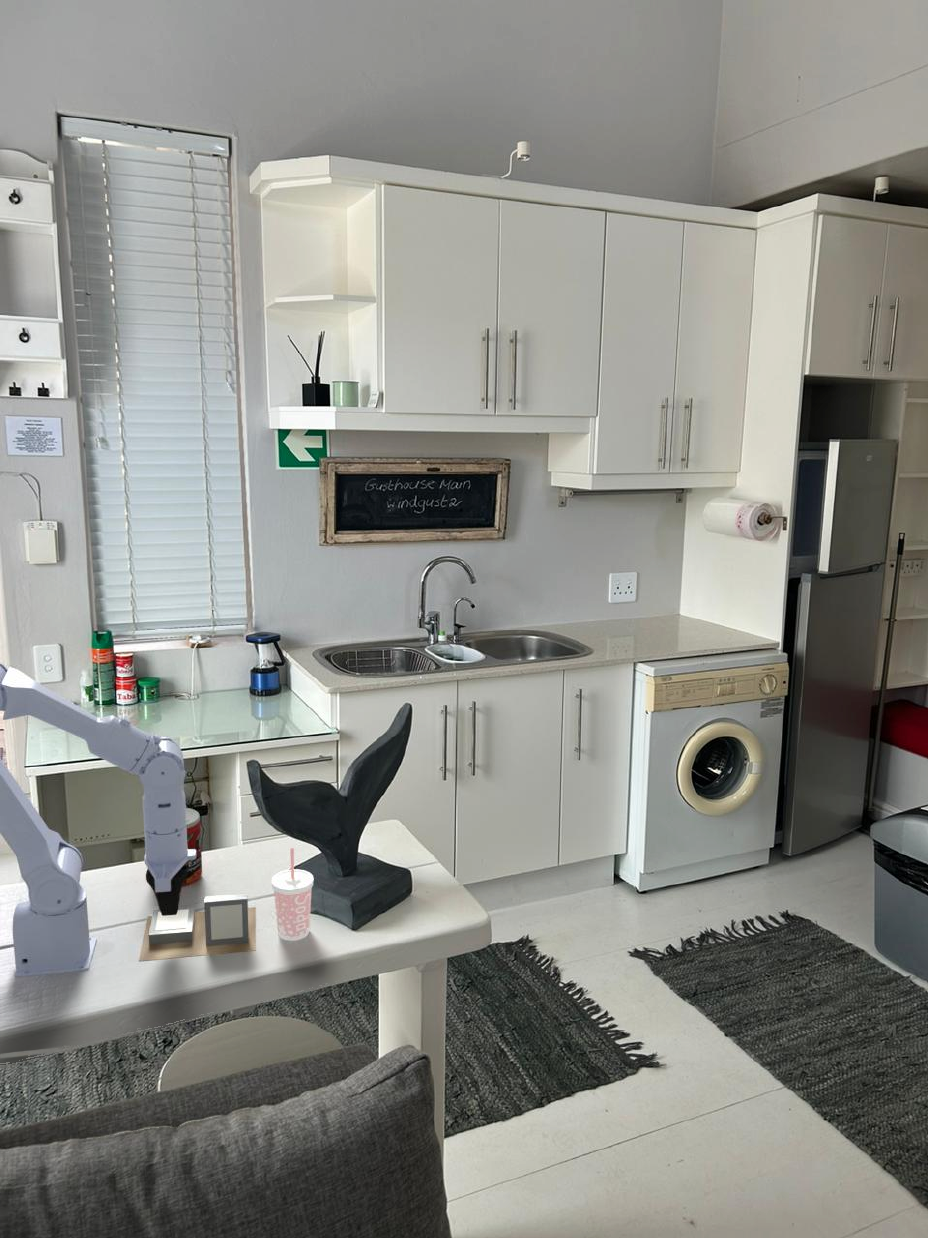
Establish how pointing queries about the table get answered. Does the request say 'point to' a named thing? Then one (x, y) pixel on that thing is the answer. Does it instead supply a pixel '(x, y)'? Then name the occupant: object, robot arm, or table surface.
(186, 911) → the grey framed square tile
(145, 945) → the cork mat
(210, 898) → the gray framed tile
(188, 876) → the canned food
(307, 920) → the beverage cup
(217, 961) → the table surface
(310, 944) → the table surface
